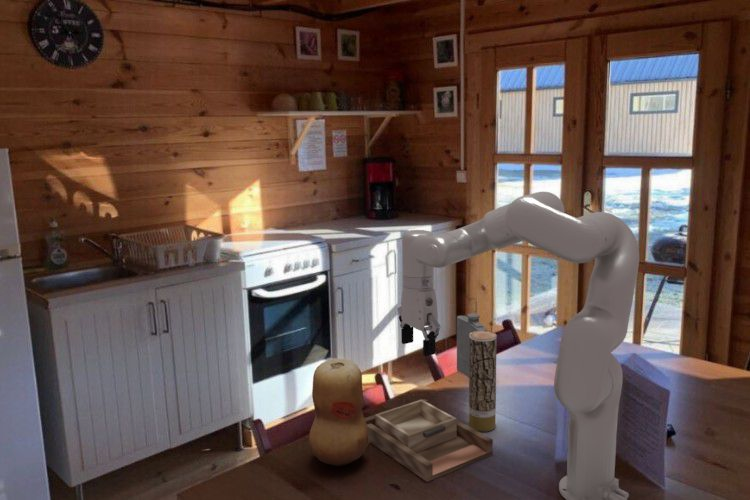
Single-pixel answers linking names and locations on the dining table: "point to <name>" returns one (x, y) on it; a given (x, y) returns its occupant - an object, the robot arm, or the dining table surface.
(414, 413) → the crate
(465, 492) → the dining table surface
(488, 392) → the wooden log
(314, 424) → the butternut squash
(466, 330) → the hip flask
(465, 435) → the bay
